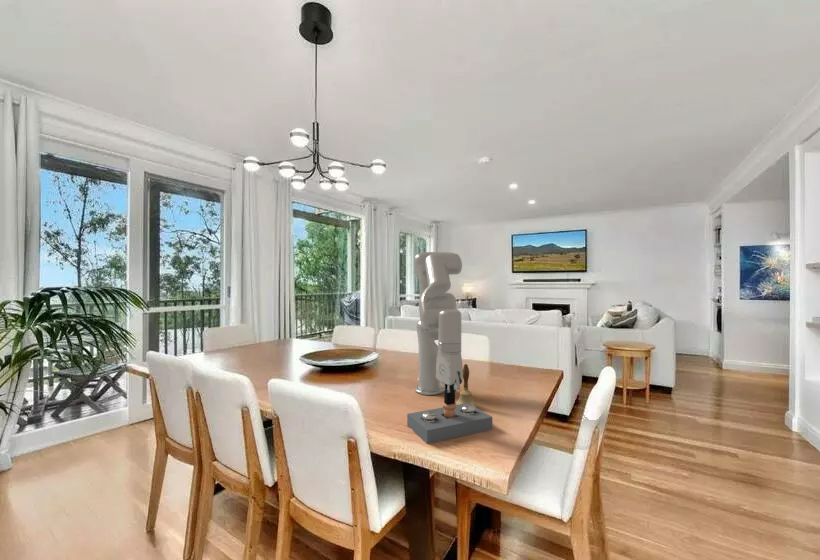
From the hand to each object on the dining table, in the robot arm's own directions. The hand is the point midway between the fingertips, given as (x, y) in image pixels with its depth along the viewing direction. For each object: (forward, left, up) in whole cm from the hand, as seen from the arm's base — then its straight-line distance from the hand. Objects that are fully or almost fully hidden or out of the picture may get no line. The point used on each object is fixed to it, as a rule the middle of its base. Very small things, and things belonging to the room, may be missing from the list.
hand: (449, 403), depth 117 cm
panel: (0, 0, -8) cm, 8 cm away
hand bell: (-14, +16, -8) cm, 23 cm away
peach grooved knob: (0, 0, -5) cm, 5 cm away
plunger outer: (0, -7, -7) cm, 11 cm away
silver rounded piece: (0, +8, -7) cm, 11 cm away
